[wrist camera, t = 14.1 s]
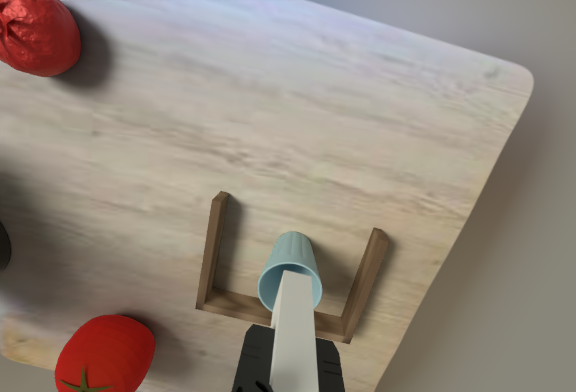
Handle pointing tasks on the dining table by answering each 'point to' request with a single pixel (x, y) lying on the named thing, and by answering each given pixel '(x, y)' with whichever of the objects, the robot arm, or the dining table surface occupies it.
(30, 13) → the pomegranate
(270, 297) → the cup
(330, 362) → the robot arm
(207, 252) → the corral
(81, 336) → the tomato
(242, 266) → the dining table surface
